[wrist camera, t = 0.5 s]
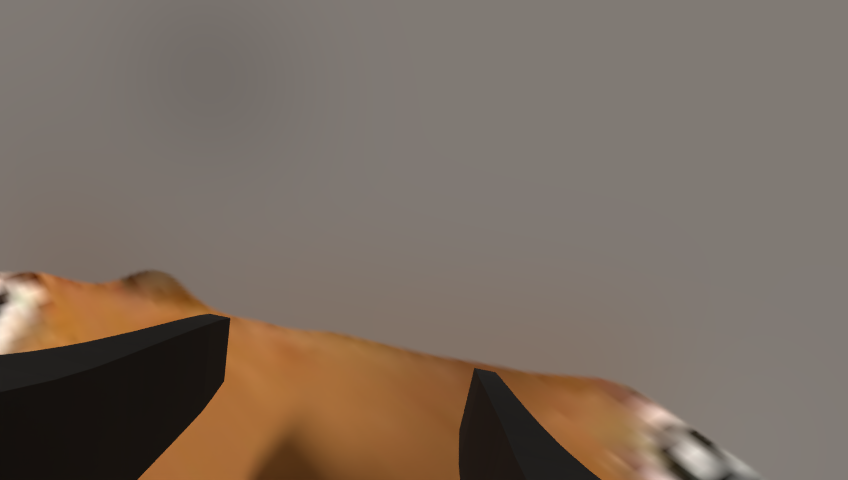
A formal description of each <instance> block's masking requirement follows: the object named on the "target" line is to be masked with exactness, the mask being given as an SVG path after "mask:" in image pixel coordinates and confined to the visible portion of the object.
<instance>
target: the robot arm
mask: <svg viewBox="0 0 848 480" xmlns="http://www.w3.org/2000/svg"><path fill="white" fill-rule="evenodd" d="M229 325H230V318H228V317H223V316H218V315H213V314H205V315H199V316H194V317H189V318H185V319H181V320H177V321H173V322H169V323H165V324H161V325H157V326H153V327H149V328H145V329H141V330H137V331H133V332H129V333H125V334H120V335H116V336H111V337H107V338H103V339H98V340H94V341H89V342H84V343H79V344H74V345H68V346H63V347H56V348H50V349H44V350H37V351H30V352H23V353H14V354H5V355H0V480H137V479H138V478H139V477H140V476H141V475H142V474H143V473H144V472H145V471H146V470H147V469H148V468H149V467H150V466H151V465H152V464H153V463H154V462H155V461H156V459H157V458H158V457H159V456H160V455H161V454H162V453H163V452H164V451H165V450H166V449H167V448H168V447H169V446H170V445H171V444H172V443H173V442H174V441H175V440H176V439H177V438H178V436H179V435H180V434H181V433H182V432H183V431H184V430H185V429H186V428H187V427H188V426H189V425H190V424H191V423H192V422H193V421H194V419H195V418H196V417H197V416H198V415H199V414H200V413H201V412H202V411H203V409H204V408H205V407H206V406H207V404H208V403H209V402H210V400H211V399H212V398H213V396H214V395H215V393H216V392H217V390H218V389H219V388H220V386H221V385H222V383H223V382H224V376H225V366H226V356H227V346H228V336H229ZM459 472H460V480H601V479H600V478H598V477H597V476H596V475H595V474H593V473H592V472H591V471H590V470H588V469H587V468H586V467H585V466H584V465H582V464H581V463H580V462H579V461H578V460H577V459H576V458H574V457H573V456H572V455H571V454H570V453H569V452H568V451H566V450H565V449H564V448H563V447H562V446H561V445H560V444H559V443H558V442H557V441H556V440H555V439H554V438H553V437H552V436H551V435H550V434H549V433H548V432H547V431H546V430H545V429H544V428H543V427H542V426H541V425H540V424H539V423H538V422H537V420H536V419H535V418H534V417H533V416H532V415H531V414H530V413H529V412H528V410H527V409H526V408H525V407H524V406H523V405H522V403H521V402H520V401H519V400H518V399H517V397H516V396H515V395H514V394H513V393H512V391H511V390H510V389H509V388H508V386H507V385H506V384H505V383H504V382H503V380H502V379H501V378H500V377H499V376H498V375H497V374H496V372H491V371H486V370H481V369H476V368H474V372H473V377H472V381H471V385H470V389H469V393H468V397H467V401H466V405H465V409H464V414H463V418H462V422H461V426H460V431H459Z"/></svg>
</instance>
